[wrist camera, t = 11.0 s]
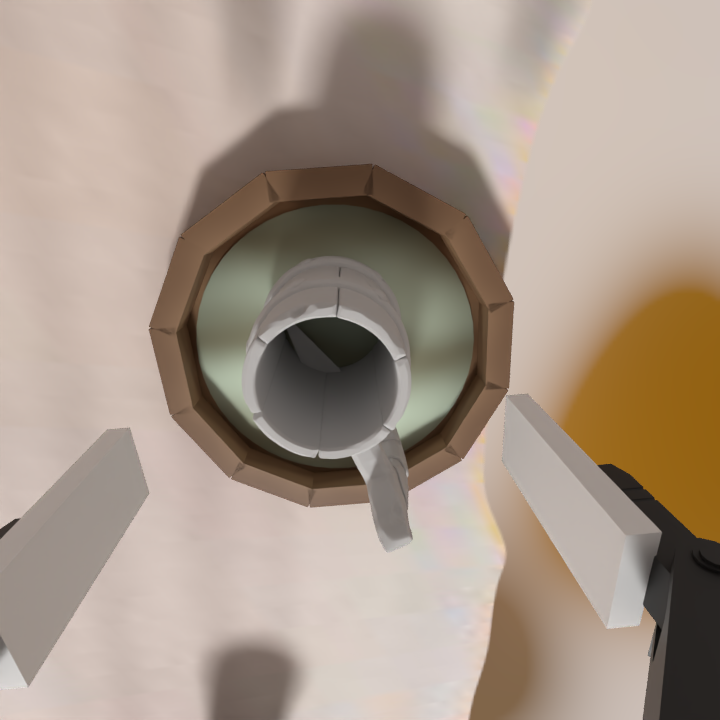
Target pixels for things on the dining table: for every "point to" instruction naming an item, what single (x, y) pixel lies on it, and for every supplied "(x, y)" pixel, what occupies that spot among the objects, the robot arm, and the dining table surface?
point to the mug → (336, 381)
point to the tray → (333, 320)
